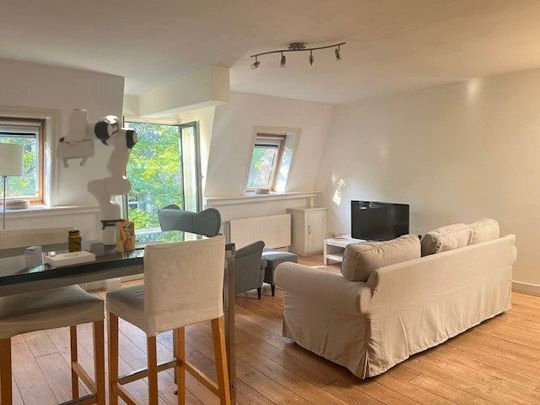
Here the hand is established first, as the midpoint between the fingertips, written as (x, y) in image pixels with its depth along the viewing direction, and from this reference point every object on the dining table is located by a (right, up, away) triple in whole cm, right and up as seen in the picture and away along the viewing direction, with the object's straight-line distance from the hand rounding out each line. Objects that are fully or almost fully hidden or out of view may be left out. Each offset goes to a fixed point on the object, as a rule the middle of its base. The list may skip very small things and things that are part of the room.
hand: (73, 166), depth 210 cm
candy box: (+20, -43, +18) cm, 51 cm away
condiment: (-7, -44, +14) cm, 47 cm away
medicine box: (-11, -47, -15) cm, 50 cm away
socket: (+2, -46, -7) cm, 46 cm away
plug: (+9, -44, +8) cm, 46 cm away
